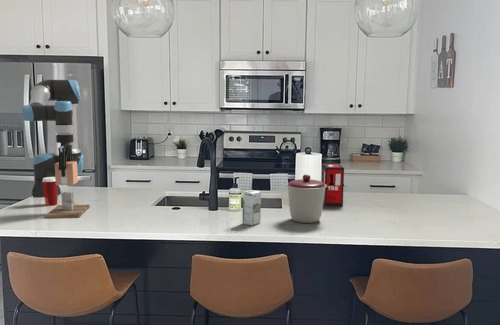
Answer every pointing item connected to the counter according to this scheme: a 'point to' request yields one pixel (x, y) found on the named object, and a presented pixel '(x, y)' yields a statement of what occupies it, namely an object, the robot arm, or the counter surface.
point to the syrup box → (251, 207)
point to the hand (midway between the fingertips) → (67, 181)
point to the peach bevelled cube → (71, 173)
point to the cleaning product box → (333, 183)
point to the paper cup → (50, 191)
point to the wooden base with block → (67, 208)
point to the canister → (306, 199)
